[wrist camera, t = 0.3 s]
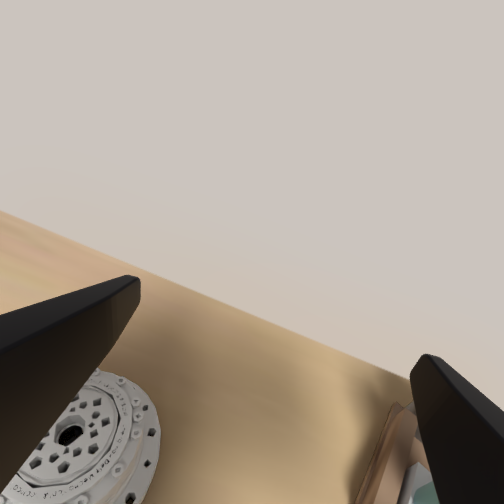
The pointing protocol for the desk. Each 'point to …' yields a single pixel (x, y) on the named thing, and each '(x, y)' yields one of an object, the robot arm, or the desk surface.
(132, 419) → the mechanical component
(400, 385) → the desk surface
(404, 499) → the knob
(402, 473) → the mount
